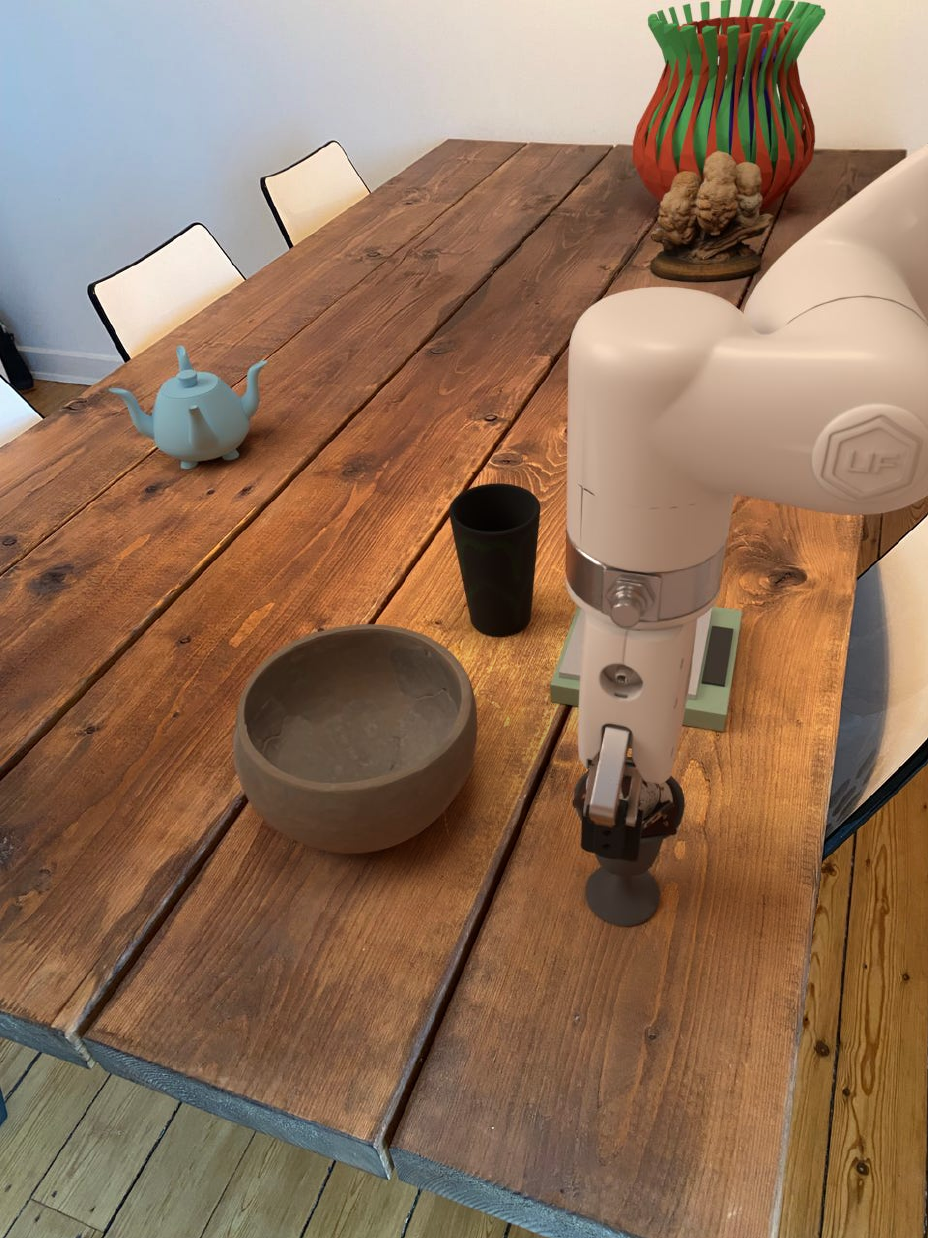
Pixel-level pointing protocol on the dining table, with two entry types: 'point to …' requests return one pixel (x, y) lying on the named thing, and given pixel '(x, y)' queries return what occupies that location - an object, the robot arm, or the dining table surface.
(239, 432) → the teapot
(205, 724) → the dining table surface
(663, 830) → the sundae
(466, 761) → the bowl
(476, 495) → the cup
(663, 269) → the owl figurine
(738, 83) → the vase
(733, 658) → the scale
